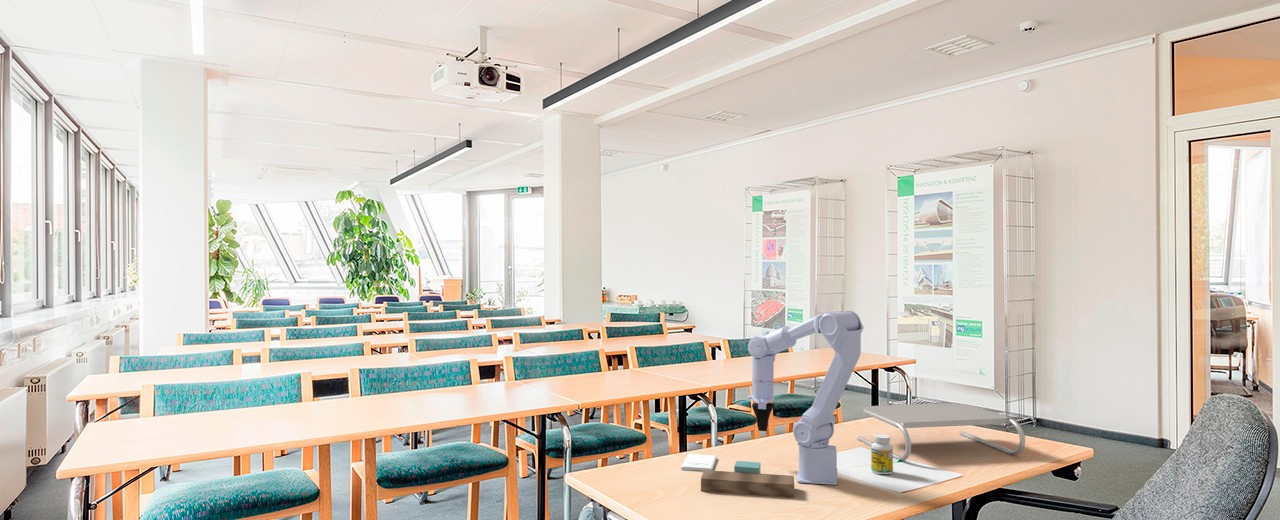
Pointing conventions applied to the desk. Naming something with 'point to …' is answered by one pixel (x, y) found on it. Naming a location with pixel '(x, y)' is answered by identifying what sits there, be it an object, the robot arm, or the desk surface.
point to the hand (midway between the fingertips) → (762, 430)
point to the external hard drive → (699, 462)
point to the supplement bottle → (882, 455)
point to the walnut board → (747, 483)
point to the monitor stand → (940, 421)
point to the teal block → (747, 467)
